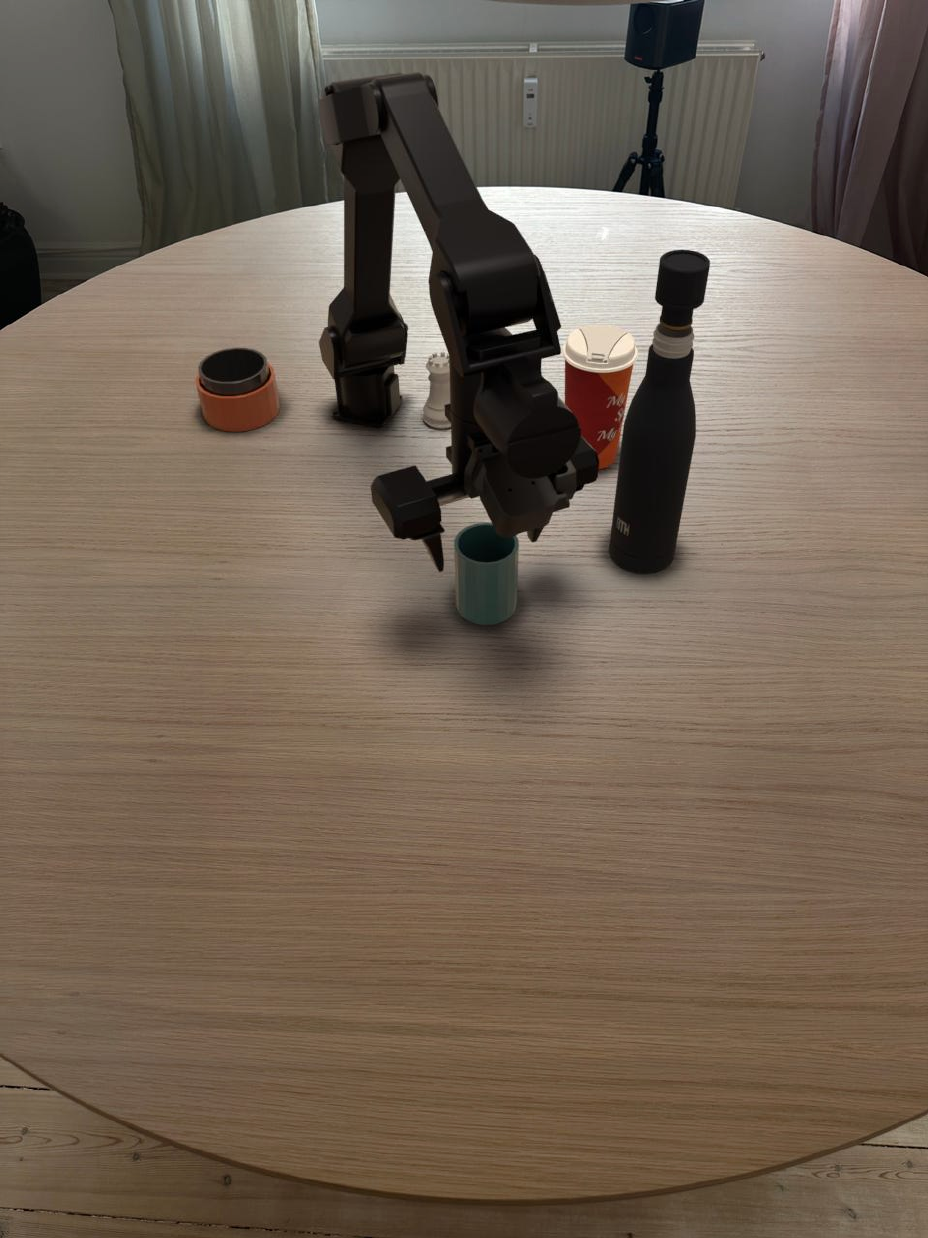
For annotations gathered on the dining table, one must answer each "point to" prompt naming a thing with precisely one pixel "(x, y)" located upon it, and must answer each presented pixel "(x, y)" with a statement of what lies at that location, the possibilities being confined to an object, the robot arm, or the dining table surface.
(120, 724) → the dining table surface
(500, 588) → the teal cup
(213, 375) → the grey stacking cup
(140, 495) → the dining table surface
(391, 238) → the robot arm
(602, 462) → the paper cup
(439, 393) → the rook chess piece
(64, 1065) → the dining table surface
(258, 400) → the stack base cup
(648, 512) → the black insulated water bottle
